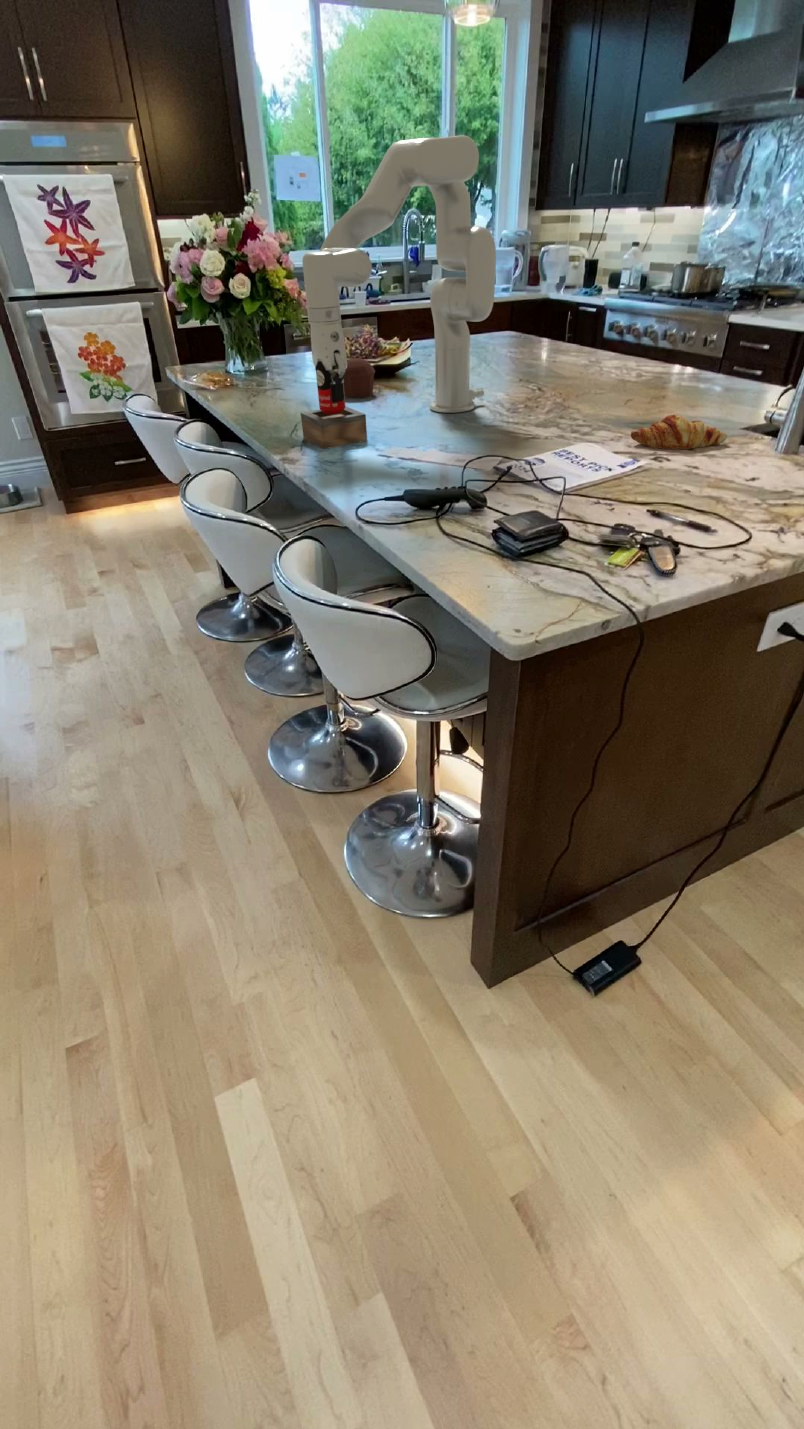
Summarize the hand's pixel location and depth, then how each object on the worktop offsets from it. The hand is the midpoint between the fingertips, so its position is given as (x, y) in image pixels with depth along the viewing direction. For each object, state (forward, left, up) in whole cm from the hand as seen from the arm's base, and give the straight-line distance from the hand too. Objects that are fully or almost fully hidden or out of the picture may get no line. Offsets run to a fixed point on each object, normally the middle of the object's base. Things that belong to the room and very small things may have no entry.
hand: (331, 398), depth 176 cm
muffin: (-28, -42, -10) cm, 51 cm away
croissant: (-61, +54, -10) cm, 82 cm away
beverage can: (0, 0, -3) cm, 3 cm away
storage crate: (0, 0, -10) cm, 10 cm away
